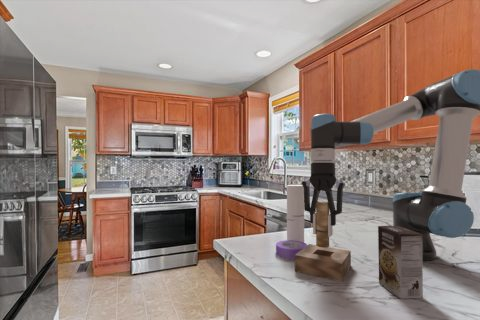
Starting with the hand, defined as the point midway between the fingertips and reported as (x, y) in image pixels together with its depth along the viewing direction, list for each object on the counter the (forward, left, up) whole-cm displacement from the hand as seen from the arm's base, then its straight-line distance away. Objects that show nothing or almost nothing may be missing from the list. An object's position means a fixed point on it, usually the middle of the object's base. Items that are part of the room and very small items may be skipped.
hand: (322, 234), depth 84 cm
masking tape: (+14, -8, -11) cm, 20 cm away
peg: (0, 0, -4) cm, 4 cm away
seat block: (0, 0, -11) cm, 11 cm away
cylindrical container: (+17, -20, -11) cm, 29 cm away
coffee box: (-21, +4, -11) cm, 24 cm away
